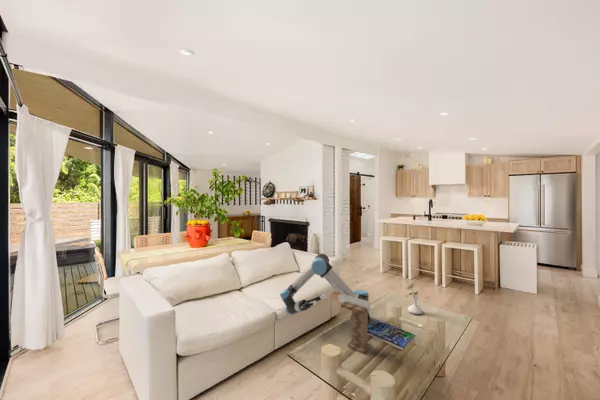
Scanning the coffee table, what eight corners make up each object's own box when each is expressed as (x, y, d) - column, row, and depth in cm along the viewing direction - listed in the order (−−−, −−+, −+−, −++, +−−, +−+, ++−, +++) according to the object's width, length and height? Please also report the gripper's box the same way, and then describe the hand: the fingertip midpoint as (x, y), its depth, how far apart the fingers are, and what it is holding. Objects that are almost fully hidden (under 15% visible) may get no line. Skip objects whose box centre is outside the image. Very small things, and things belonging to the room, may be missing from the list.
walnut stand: (341, 344, 181) (341, 304, 179) (347, 337, 189) (348, 298, 186) (364, 354, 170) (365, 311, 168) (370, 346, 178) (371, 305, 176)
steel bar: (331, 299, 186) (331, 293, 186) (334, 296, 190) (334, 291, 189) (367, 310, 170) (367, 303, 170) (369, 307, 174) (370, 301, 173)
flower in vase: (418, 308, 229) (419, 280, 227) (425, 315, 218) (426, 285, 216) (403, 308, 229) (404, 280, 227) (409, 315, 218) (410, 285, 216)
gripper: (313, 304, 215) (333, 297, 203) (293, 317, 195) (314, 310, 183) (309, 295, 217) (328, 288, 205) (289, 307, 197) (309, 300, 185)
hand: (321, 298), depth 194 cm, fingers open, 13 cm apart
